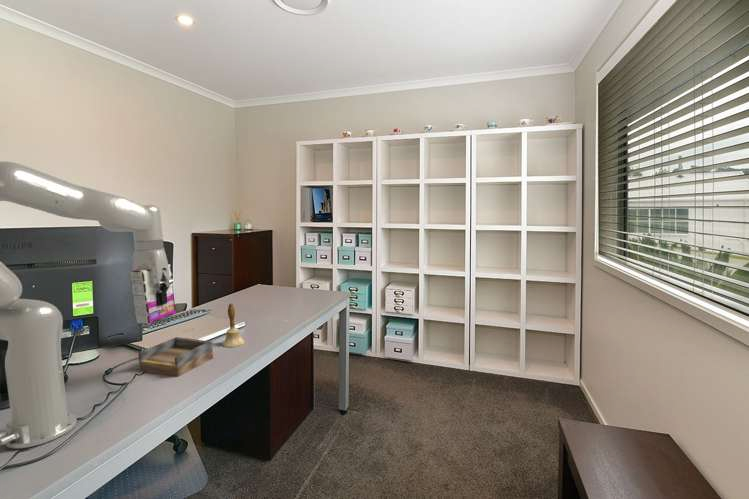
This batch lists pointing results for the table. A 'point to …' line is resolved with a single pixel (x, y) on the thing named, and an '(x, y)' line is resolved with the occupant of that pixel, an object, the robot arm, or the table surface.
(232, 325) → the hand bell
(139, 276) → the candy bar box
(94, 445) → the table surface
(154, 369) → the wooden tray
